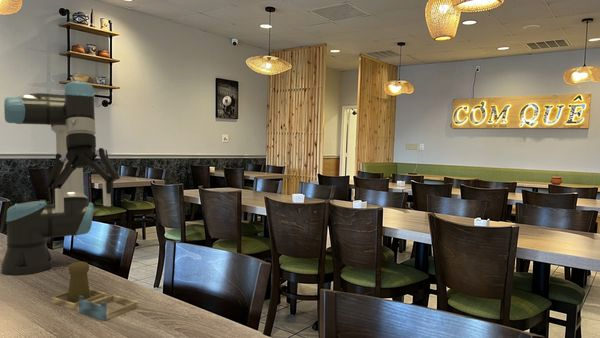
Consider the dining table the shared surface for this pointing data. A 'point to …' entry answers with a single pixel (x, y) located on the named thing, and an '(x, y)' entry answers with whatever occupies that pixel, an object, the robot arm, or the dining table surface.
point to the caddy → (95, 304)
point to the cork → (78, 282)
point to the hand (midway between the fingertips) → (83, 209)
